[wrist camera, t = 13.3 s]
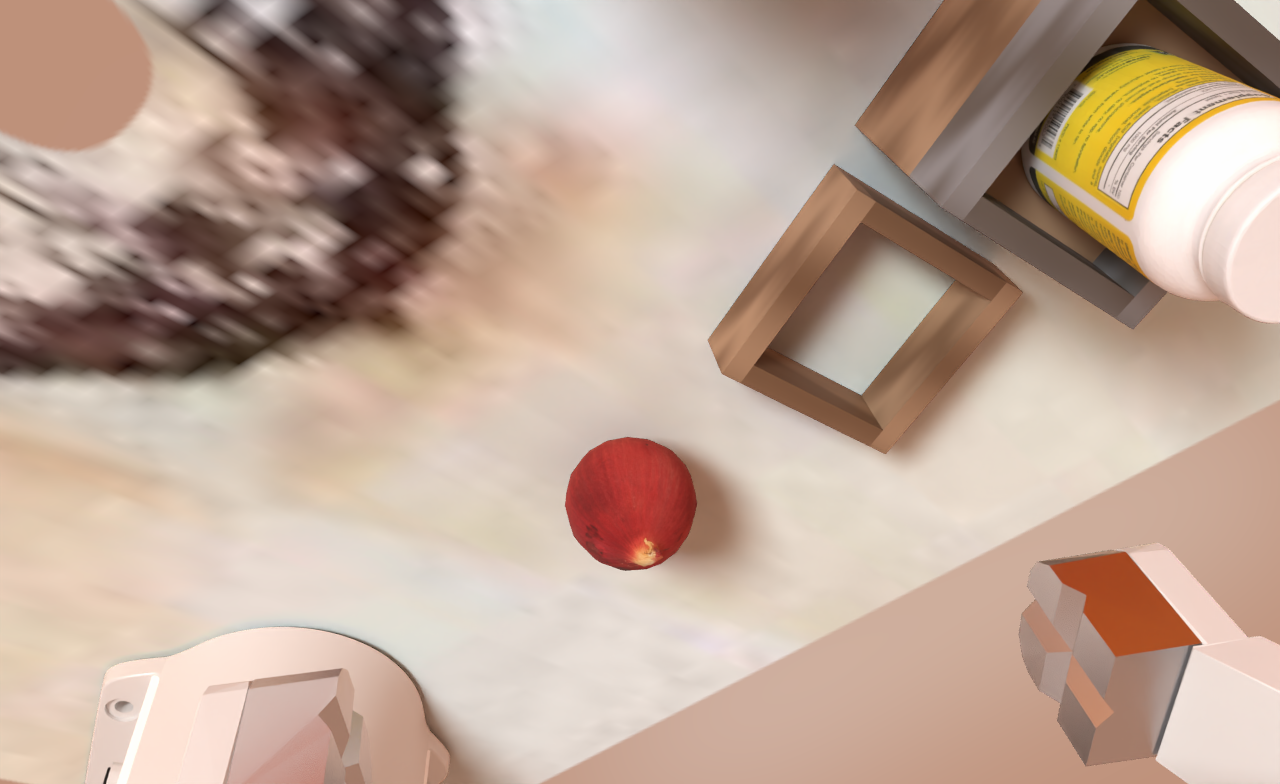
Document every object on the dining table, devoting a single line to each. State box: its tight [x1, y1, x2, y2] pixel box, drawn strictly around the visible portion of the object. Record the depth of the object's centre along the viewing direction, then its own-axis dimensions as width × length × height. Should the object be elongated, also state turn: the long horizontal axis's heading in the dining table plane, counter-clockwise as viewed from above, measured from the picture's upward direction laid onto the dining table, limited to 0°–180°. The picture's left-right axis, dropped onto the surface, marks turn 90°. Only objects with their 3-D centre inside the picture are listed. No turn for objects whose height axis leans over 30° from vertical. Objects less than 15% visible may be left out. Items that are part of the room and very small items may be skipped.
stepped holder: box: [708, 0, 1280, 454], centre depth 40 cm, size 21×10×9 cm, turn 148°
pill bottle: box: [1021, 43, 1280, 323], centre depth 32 cm, size 6×6×11 cm
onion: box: [565, 437, 697, 571], centre depth 46 cm, size 6×6×8 cm
